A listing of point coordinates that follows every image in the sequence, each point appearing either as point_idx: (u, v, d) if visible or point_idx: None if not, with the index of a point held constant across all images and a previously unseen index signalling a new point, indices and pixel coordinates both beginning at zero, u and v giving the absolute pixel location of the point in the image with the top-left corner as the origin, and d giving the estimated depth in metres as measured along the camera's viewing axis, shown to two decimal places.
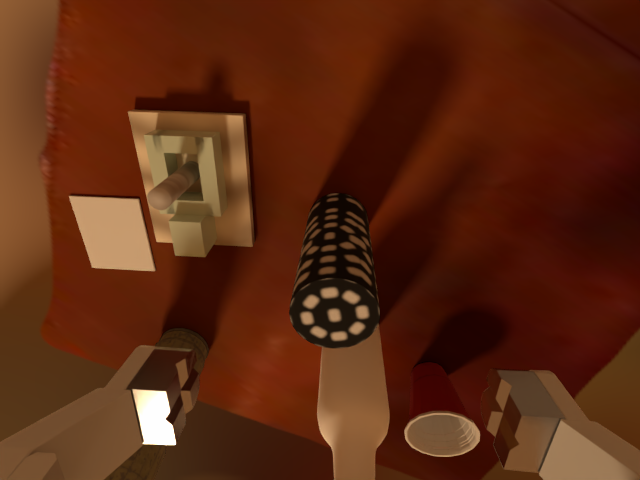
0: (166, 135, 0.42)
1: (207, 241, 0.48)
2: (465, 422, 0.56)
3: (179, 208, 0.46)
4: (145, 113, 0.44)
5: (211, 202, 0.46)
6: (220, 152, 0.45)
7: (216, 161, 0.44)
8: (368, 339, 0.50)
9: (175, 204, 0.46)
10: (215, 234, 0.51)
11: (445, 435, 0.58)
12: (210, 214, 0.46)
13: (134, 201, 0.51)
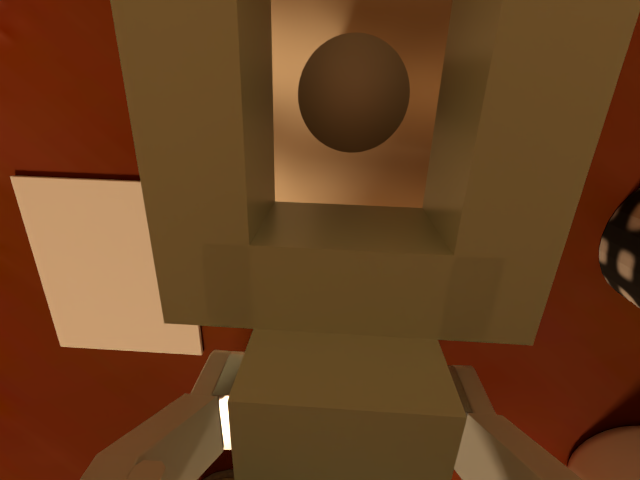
0: None
1: None
2: None
3: (285, 296, 0.08)
4: None
5: (504, 262, 0.07)
6: None
7: None
8: None
9: (264, 273, 0.07)
10: None
11: None
12: (470, 332, 0.08)
13: None
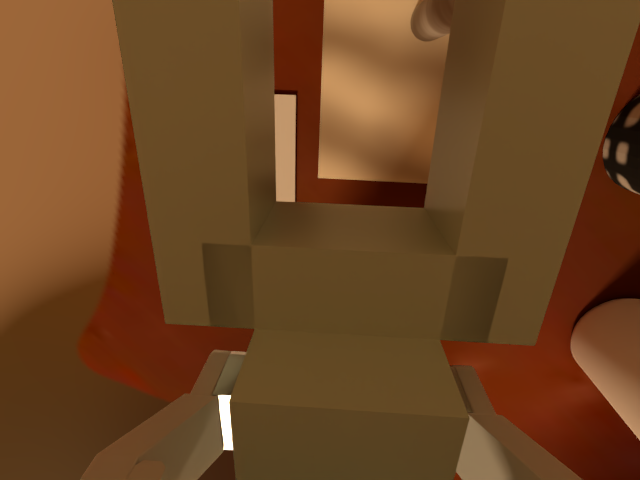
0: None
1: None
2: None
3: (287, 296, 0.08)
4: None
5: (506, 262, 0.07)
6: None
7: None
8: None
9: (266, 273, 0.07)
10: None
11: None
12: (472, 333, 0.08)
13: (287, 99, 0.28)
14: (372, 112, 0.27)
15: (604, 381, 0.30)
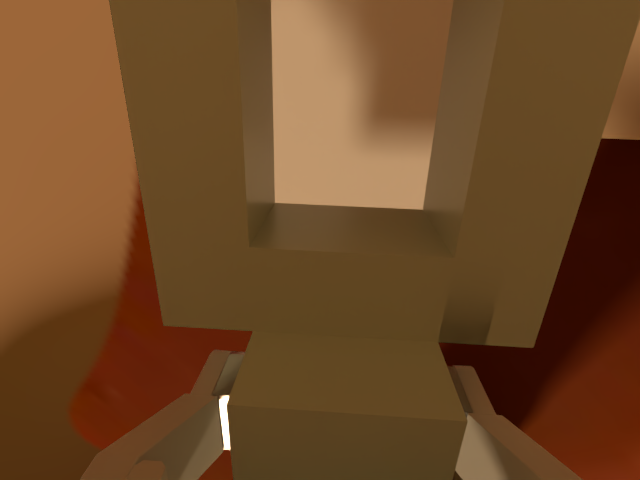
0: None
1: None
2: None
3: (285, 299, 0.08)
4: None
5: (505, 265, 0.07)
6: None
7: None
8: None
9: (264, 275, 0.07)
10: None
11: None
12: (471, 335, 0.08)
13: None
14: None
15: None
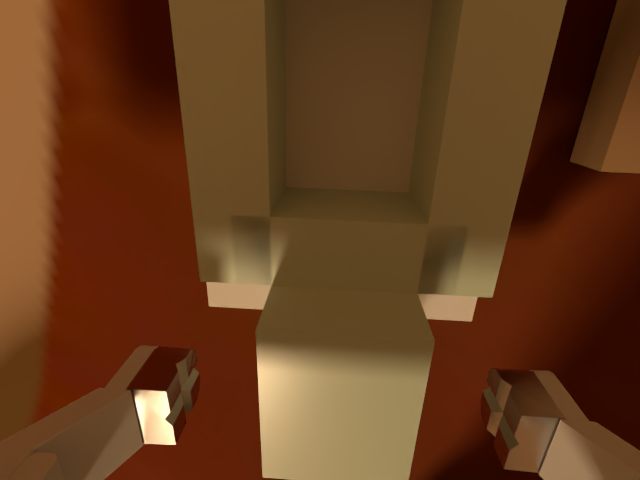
0: None
1: None
2: None
3: (297, 258, 0.10)
4: None
5: (467, 230, 0.09)
6: None
7: None
8: None
9: (281, 239, 0.09)
10: None
11: None
12: (443, 287, 0.10)
13: None
14: None
15: None
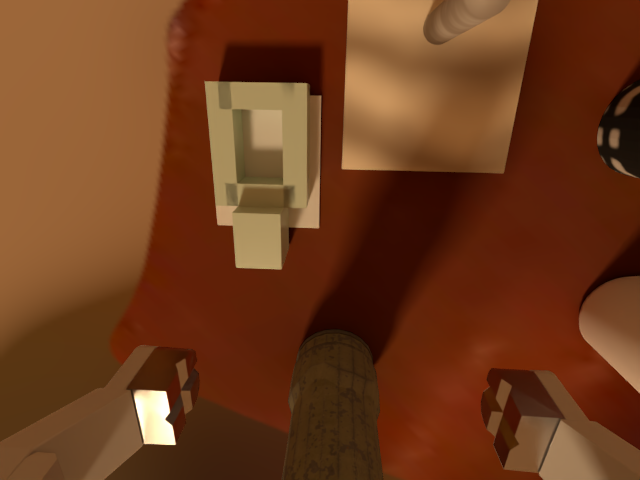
0: None
1: (283, 246, 0.32)
2: None
3: (245, 196, 0.31)
4: None
5: (294, 186, 0.31)
6: (309, 114, 0.31)
7: (307, 123, 0.30)
8: None
9: (240, 190, 0.31)
10: (288, 240, 0.35)
11: None
12: (291, 205, 0.32)
13: (313, 99, 0.31)
14: (390, 108, 0.30)
15: (613, 351, 0.33)
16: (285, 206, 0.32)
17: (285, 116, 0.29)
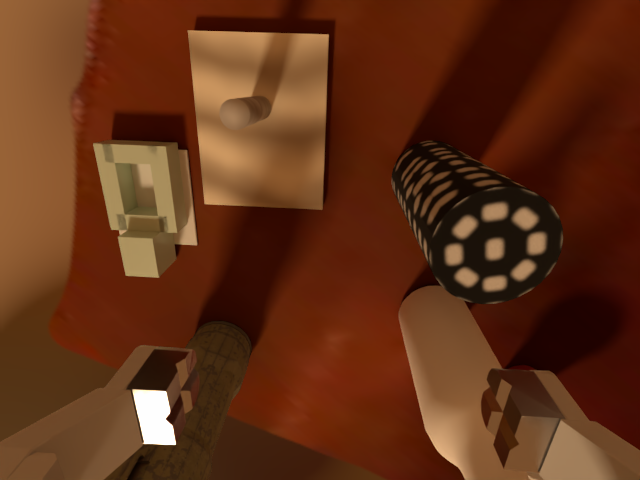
0: (117, 144, 0.39)
1: (162, 260, 0.44)
2: None
3: (132, 223, 0.43)
4: (209, 32, 0.36)
5: (166, 217, 0.42)
6: (177, 164, 0.42)
7: (172, 172, 0.41)
8: (471, 323, 0.40)
9: (127, 219, 0.42)
10: (174, 253, 0.47)
11: None
12: (165, 230, 0.43)
13: (181, 152, 0.42)
14: (234, 162, 0.41)
15: (405, 341, 0.44)
16: (161, 231, 0.43)
17: (153, 168, 0.40)
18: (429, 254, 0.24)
